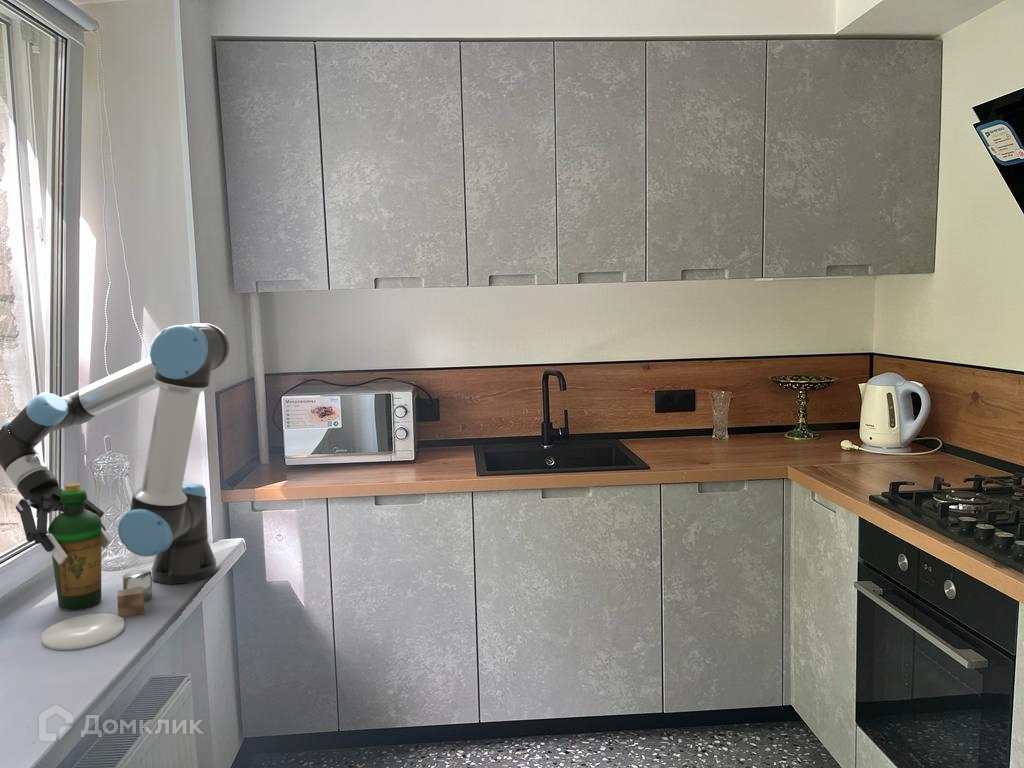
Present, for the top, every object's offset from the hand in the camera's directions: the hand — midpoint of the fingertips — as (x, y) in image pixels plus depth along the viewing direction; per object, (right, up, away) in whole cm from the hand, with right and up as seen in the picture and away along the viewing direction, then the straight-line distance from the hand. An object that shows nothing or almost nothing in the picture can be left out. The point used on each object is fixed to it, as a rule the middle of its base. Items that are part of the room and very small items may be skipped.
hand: (86, 552), depth 174 cm
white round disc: (+7, -14, -13) cm, 20 cm away
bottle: (-3, -13, +3) cm, 13 cm away
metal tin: (+9, -12, +5) cm, 16 cm away
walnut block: (+11, -13, -2) cm, 18 cm away
